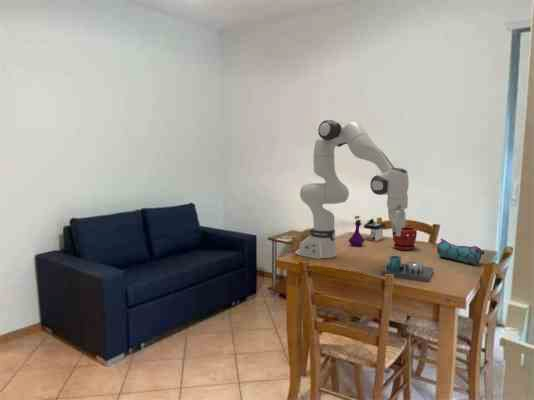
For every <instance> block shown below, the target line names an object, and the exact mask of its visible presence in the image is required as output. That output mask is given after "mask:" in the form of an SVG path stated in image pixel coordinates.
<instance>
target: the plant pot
mask: <svg viewBox="0 0 534 400" xmlns="http://www.w3.org/2000/svg"><path fill="white" fill-rule="evenodd" d="M396 231H397V228H396ZM417 231H418V230H417V228H416V227H410V226H409V227H408V226H405V228H402V231H401V236H397V235H396V232H393V231H392V240H393V243H394V244H393V247H394V248H395V249H397V250H401V251H412V250H414V249H415V248H416V245H415V243H416V239H417V236H418V235H417V234H418V233H417Z"/></svg>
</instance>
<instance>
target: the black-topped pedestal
mask: <svg viewBox="0 0 534 400" xmlns="http://www.w3.org/2000/svg"><path fill="white" fill-rule="evenodd" d="M383 228H386V223H381V222H377V221H376V220H375V219H374V218H369V219H368V220H367V222H366V223H365V224H364V225H363V229H368V230H370V236H369V238H370V240H371V239H374V241H375V242H377V241H380V240H382V231H383V230H382V229H383Z"/></svg>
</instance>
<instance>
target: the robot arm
mask: <svg viewBox="0 0 534 400" xmlns="http://www.w3.org/2000/svg"><path fill="white" fill-rule="evenodd" d="M317 131H318V135H319V137H318V138H317V139H316V140H315V142H314V146H313V147H314V148H313V172H314V174H315V175H316V176H318V177H320V178H322V179H323V180H324V181H325V182H324V183H320V182H319V183H318V182H317V183H316V182H315V183H307V184H303V185H302V186H301V187H300V191H299V196H300V199H301V201H302V203H304V204H306V206H307V207H309V209H310V211H311V213H312V219H313V222H312V223H313V227H312V228H311V229H310V230H309V232H308V233H309V234H310V235H308V236H307V237H306V238H304V239H303V240H302V241H301V242H300V243H299V244H300V245H299V249H297V250H295V253H294V254H295V255H296V254H297V256H301V257H307V258H310V259H311V258H312V259H317V260H319V259H330V258H335V257H337V255H338V254H337V251H336V243H335V239H336V229H335V215H334V213H333V212H331V211H330V210H328V209H326V208H324V207H323V206H324V205H325V204H326V205H327V204H328V205H332V204H333V205H337V204H342V203H345V202H347V201H348V199H349V195H350V192H349V188H348V186H347V185H346V184H345V183H343V182H342V181H341V180H340V179H339V177H338V175H337V173H336V166H335V148H336V147H337V148H338V147H339V148H340V147H342V146H344V145H347V147H348V148H349V150H350V152H351V154H352V155H353V156H354V157H356V158H357V159H361V160H364V161H367V162H370V163H372V164H374V165H375V166H377V168H378V169H379V171H380V172H381V173H380V174H377V175H374V176H373V177H372V178H371V179H370V183H369V184H370V190H371V191H372V193H373V194H375V195H379V196H383V195H385V196H386V195H387V199H386V207H387V215H388V220H389V221H390V223H391V231H392V233H393V232H396V235H397V236H401V231H402V228H405V227H406V225H407V224H406V221H407V220H406V211H405V210H406V209H408V208H409V207H408V203H409V201H408V200H409V195H408V190H409V184H410V183H409V173H408V171H407V170H406V169H404V168H400V167H394V165H393V164H392V162H391V161H390V160H389V158H388V157H387V156H386V155H385V153H384V152H383V151H382V150H381V148H379V147H378V146H377V145H376V144H375V142H374V141H373V140H372V139H371V136H369V134H368V132H367V131H366V130H365V127H363V126H362V125H361V123H359V122H358V121H355V120H354V121H349V122H347V123H343V122H341V121H336V120H333V119H326V120H323V121H322V122H320V124H319V125H318V130H317ZM396 228H397V231H396Z"/></svg>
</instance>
